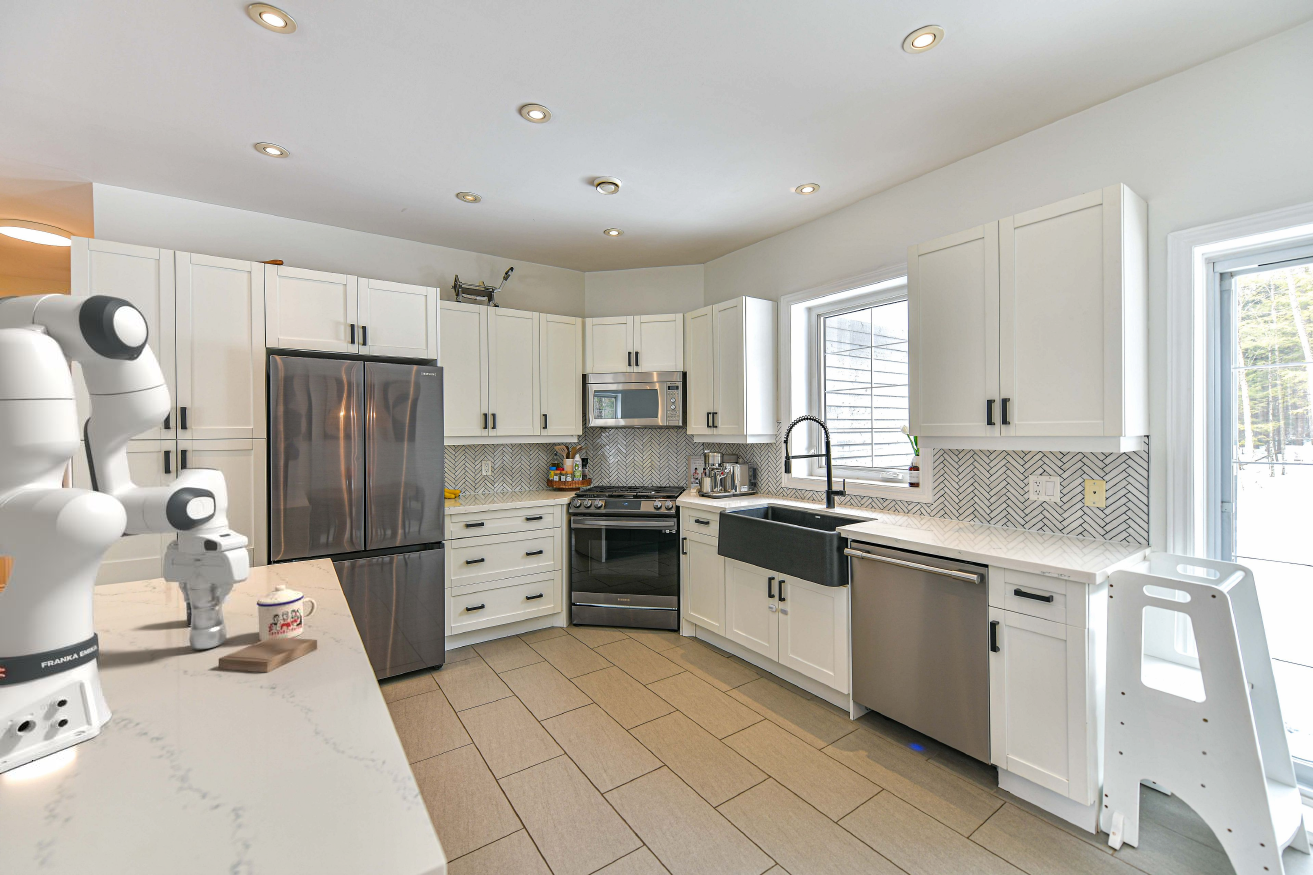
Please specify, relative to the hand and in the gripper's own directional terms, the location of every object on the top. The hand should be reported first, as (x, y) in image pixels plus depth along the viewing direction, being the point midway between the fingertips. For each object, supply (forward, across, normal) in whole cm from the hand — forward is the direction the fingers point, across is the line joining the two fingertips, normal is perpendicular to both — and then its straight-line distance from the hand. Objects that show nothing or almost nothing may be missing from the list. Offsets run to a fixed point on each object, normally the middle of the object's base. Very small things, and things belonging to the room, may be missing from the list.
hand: (206, 602), depth 125 cm
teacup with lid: (+10, +11, +10) cm, 18 cm away
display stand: (+10, +20, -3) cm, 23 cm away
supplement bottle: (+10, -19, +14) cm, 26 cm away
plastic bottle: (+10, 0, 0) cm, 10 cm away
